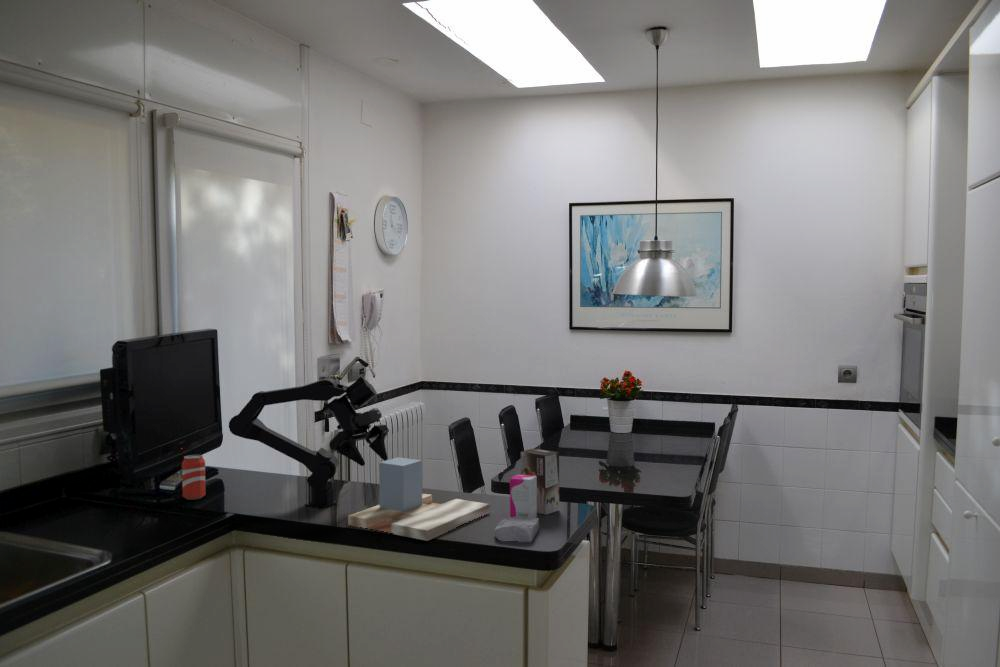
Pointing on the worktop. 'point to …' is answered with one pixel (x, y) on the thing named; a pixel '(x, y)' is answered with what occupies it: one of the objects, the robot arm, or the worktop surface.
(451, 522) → the trap board
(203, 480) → the beverage can
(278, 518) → the worktop surface
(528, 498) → the supplement box
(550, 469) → the coffee box
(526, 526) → the stone block
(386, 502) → the slate block
